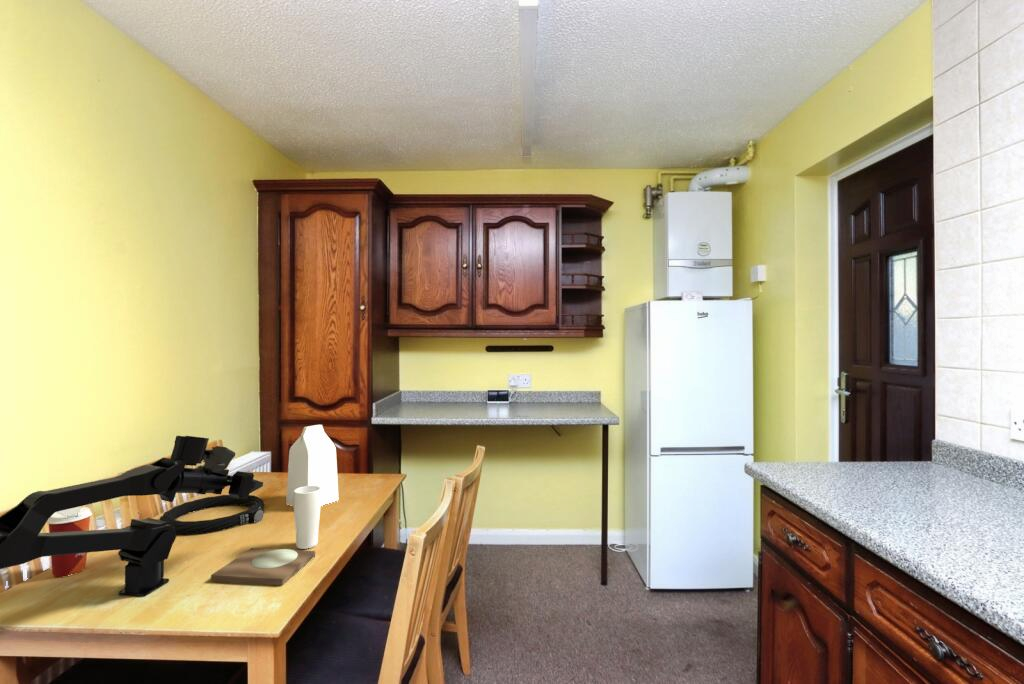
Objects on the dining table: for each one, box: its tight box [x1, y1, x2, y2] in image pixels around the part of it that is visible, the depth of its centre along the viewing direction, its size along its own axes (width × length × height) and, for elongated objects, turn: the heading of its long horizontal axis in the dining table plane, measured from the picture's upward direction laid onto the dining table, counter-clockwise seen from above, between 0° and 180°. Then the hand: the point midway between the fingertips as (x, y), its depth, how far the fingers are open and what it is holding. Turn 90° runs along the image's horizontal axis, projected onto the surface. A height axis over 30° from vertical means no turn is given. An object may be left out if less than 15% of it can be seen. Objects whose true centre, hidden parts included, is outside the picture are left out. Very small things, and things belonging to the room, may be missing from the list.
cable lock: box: [159, 494, 266, 535], centre depth 142 cm, size 28×4×30 cm
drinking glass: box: [292, 486, 322, 550], centre depth 123 cm, size 7×7×15 cm
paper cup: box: [46, 506, 93, 578], centre depth 109 cm, size 8×8×14 cm
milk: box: [285, 424, 340, 507], centre depth 156 cm, size 12×12×26 cm
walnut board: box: [210, 547, 316, 586], centre depth 110 cm, size 14×17×2 cm
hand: (250, 482), depth 125 cm, fingers open, 9 cm apart
